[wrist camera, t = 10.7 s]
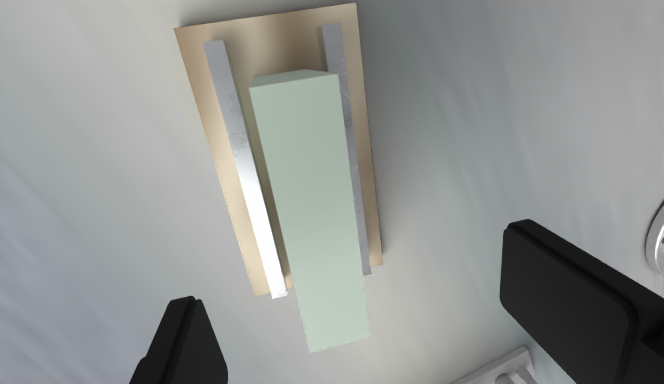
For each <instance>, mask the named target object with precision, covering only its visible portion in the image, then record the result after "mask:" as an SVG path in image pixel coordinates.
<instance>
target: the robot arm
mask: <svg viewBox="0 0 664 384" xmlns="http://www.w3.org/2000/svg"><path fill="white" fill-rule="evenodd" d="M646 258H647V261H648V263H649V266H650V267H651V268H652V269H653V271H655V272H657V273H658V274H660V275H662V276H663V277H664V205H663V206H662V208H661V209H660V211H659V212H658V214H657V216H656V217H655V219H654V221H653V223H652V226H651V228H650V231H649V234H648V237H647V242H646ZM500 301H501V303H502V305H503V307H504V308H505V309H506V310H507V312H508V313H509V314H510V315H511V316H512V317H513V318H514V319H515V320H516V321H517V322H518V323H519V324H520V325H521V326H522V327H523V328H524V329H525V330H526V331H527V332H528V333H529V334H530V336H531V337H532V338H533V339H534V340H535V341H536V342H537V343H538V344H539V345H540V346H541V347H542V348H543V349H544V350H545V351H546V352H547V353H548V354H549V355H550V356H551V357H552V358H553V360H554V361H555V362H556V363H557V364H558V365H559V366H560V367H561V368H562V369H563V370H564V371H565V372H566V373H567V374H568V375H569V376H570V377H571V378H572V379H573V380H574V381H575V382H576V384H664V298H662V297H661V296H659V295H657V294H656V293H654V292H652V291H651V290H649V289H647V288H646V287H644V286H642V285H640V284H639V283H637V282H635V281H634V280H632V279H630V278H629V277H627V276H625V275H624V274H622V273H620V272H619V271H617V270H615V269H614V268H612V267H610V266H608V265H607V264H605V263H603V262H602V261H600V260H598V259H597V258H595V257H593V256H592V255H590V254H588V253H587V252H585V251H583V250H582V249H580V248H578V247H576V246H575V245H573V244H571V243H570V242H568V241H566V240H565V239H563V238H561V237H560V236H558V235H556V234H555V233H553V232H551V231H550V230H548V229H546V228H545V227H543V226H541V225H539V224H538V223H536V222H534V221H533V220H530V219H525V220H521V221H516V222H512V223H510V224H509V225H508V226H507V229H505V230H504V233H503V248H502V265H501V282H500ZM227 382H228V370H227V365H226V363H225V360H224V357H223V355H222V352H221V349H220V347H219V344H218V342H217V339H216V336H215V334H214V331H213V328H212V326H211V323H210V320H209V318H208V315H207V313H206V310H205V307H204V305H203V302H202V300H201V299H198V300H195V298H194V297H193V296H188V297H183V298H179V299H175V300H171V301H170V302H169V304H168V306H167V308H166V311H165V313H164V315H163V318H162V320H161V322H160V325H159V327H158V329H157V331H156V334H155V336H154V338H153V341H152V343H151V345H150V348H149V350H148V352H147V355H146V357H144V358H142V359H141V360H140V362H139V363H138V365H137V367H136V370H135V372H134V374H133V376H132V378H131V381H130V383H129V384H227Z"/></svg>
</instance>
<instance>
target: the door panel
mask: <svg viewBox="0 0 664 384" xmlns="http://www.w3.org/2000/svg"><path fill="white" fill-rule="evenodd" d="M249 91H250V96H251V100H252V104H253V109H254V113H255V117H256V122H257V126H258V131H259V135H260V139H261V144H262V148H263V152H264V157H265V161H266V165H267V170H268V174H269V179H270V183H271V187H272V192H273V196H274V200H275V205H276V209H277V213H278V218H279V222H280V226H281V231H282V235H283V240H284V244H285V248H286V253H287V257H288V261H289V266H290V270H291V274H292V279H293V283H294V287H295V292H296V296H297V301H298V305H299V309H300V314H301V318H302V322H303V327H304V331H305V335H306V340H307V344H308V349H309V353H313V352H316V351H320V350H324V349H327V348H331V347H335V346H338V345H342V344H345V343H349V342H353V341H356V340H360V339H364V338H367V337H371V334H370V326H369V318H368V310H367V302H366V294H365V286H364V278H363V270H362V262H361V254H360V246H359V238H358V230H357V222H356V214H355V206H354V198H353V190H352V182H351V174H350V166H349V158H348V150H347V142H346V134H345V126H344V117H343V109H342V101H341V93H340V85H339V77H338V74H337V73H330V72H323V71H315V70H308V69H302V70H296V71H290V72H283V73H277V74H270V75H264V76H258V77H254V78H253V80H252V82H251V84H250V86H249Z"/></svg>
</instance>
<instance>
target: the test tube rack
mask: <svg viewBox="0 0 664 384" xmlns="http://www.w3.org/2000/svg"><path fill="white" fill-rule="evenodd" d="M533 376H535V372H534V369H533V365H532V361H531V358H530V354H529V351H528V349H527V348H526V347H525V346H524V345H523V346H521V347H519V348H518V349H516V350H514V351H512V352H510V353H508V354H506V355H504V356H503V357H501V358H499V359H497V360H495V361H493V362H491V363H489V364H488V365H486V366H484V367H482V368H480V369H478V370H476V371H474V372H472V373H471V374H469V375H467V376H465V377H463V378H461V379H459V380H457V381H455V382H454V383H452V384H520V383H522V382H524V381H525V382H526V383H527V384H537V382H536V381H535V380H534V379H533V378H532V377H533Z"/></svg>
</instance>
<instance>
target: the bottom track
mask: <svg viewBox="0 0 664 384" xmlns="http://www.w3.org/2000/svg"><path fill="white" fill-rule="evenodd" d="M174 31H175V35H176V38H177V41H178V45H179V48H180V51H181V54H182V58H183V61H184V64H185V68H186V71H187V74H188V78H189V81H190V84H191V88H192V91H193V94H194V97H195V101H196V104H197V107H198V111H199V114H200V117H201V121H202V124H203V127H204V130H205V134H206V137H207V140H208V144H209V147H210V150H211V154H212V157H213V160H214V164H215V167H216V170H217V173H218V177H219V180H220V183H221V187H222V190H223V193H224V197H225V200H226V203H227V207H228V210H229V213H230V216H231V220H232V223H233V226H234V230H235V233H236V236H237V240H238V243H239V246H240V250H241V253H242V256H243V259H244V263H245V266H246V269H247V273H248V276H249V279H250V283H251V286H252V289H253V292H254V296H259V295H263V294H267V293H271V294H272V297H273V299H274V298H278V297H282V296H286V295H287V288H291V287H294V283H293V279H292V274H291V270H290V266H289V261H288V257H287V253H286V248H285V244H284V240H283V235H282V231H281V226H280V222H279V218H278V213H277V209H276V205H275V200H274V196H273V192H272V187H271V183H270V179H269V174H268V170H267V165H266V161H265V157H264V152H263V148H262V144H261V139H260V135H259V131H258V126H257V122H256V117H255V113H254V109H253V104H252V100H251V96H250V91H249V86H250V84H251V82H252V80H253V78H254V77H258V76H264V75H270V74H277V73H283V72H290V71H296V70H302V69H308V70H315V71H323V72H330V73H337V74H338V77H339V85H340V93H341V101H342V109H343V117H344V126H345V134H346V142H347V150H348V158H349V166H350V174H351V182H352V190H353V198H354V206H355V214H356V222H357V230H358V238H359V246H360V254H361V262H362V270H363V276H364V275H368V274H371V267H375V266H379V265H383V260H382V251H381V241H380V231H379V221H378V212H377V202H376V192H375V183H374V173H373V163H372V153H371V144H370V134H369V124H368V114H367V105H366V95H365V85H364V76H363V66H362V56H361V46H360V37H359V27H358V17H357V7H356V3H349V4H342V5H335V6H328V7H321V8H314V9H307V10H300V11H293V12H286V13H278V14H271V15H264V16H257V17H250V18H243V19H236V20H229V21H222V22H215V23H208V24H201V25H194V26H186V27H179V28H174Z"/></svg>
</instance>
